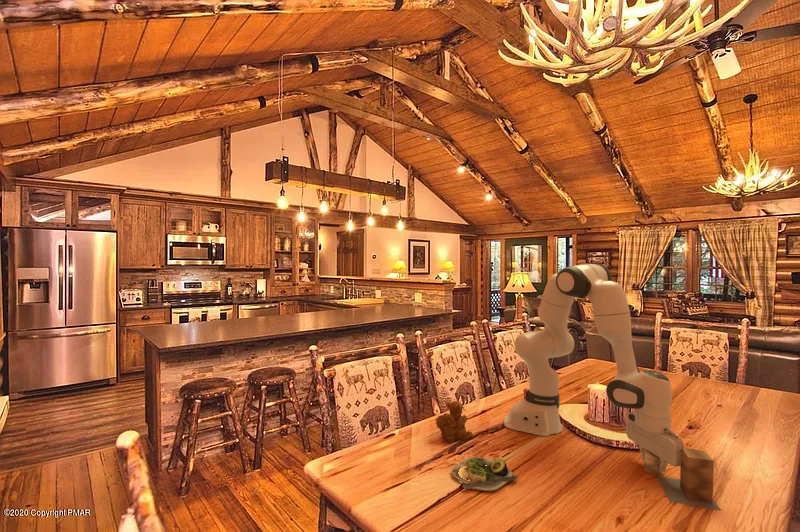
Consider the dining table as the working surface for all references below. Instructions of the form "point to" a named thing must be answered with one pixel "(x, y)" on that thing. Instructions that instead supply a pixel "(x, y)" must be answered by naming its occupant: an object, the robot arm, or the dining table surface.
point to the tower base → (696, 488)
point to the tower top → (697, 464)
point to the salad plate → (484, 473)
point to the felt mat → (681, 494)
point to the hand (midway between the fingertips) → (653, 465)
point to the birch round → (651, 463)
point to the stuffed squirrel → (453, 423)
